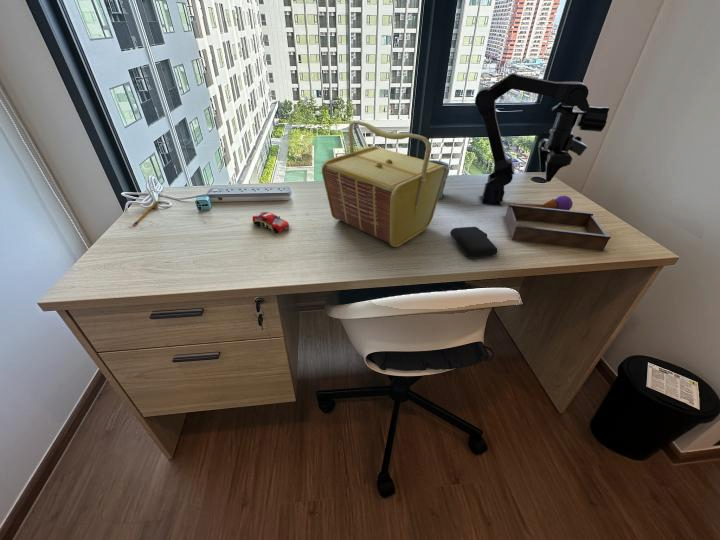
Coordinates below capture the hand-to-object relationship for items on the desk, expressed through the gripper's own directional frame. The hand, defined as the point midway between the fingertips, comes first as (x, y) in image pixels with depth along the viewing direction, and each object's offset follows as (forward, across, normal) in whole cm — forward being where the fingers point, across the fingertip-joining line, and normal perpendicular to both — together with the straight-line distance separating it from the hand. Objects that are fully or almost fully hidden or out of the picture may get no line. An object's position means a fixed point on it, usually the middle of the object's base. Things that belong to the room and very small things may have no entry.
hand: (544, 176), depth 113 cm
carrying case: (+12, -32, +22) cm, 41 cm away
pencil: (+13, -40, +129) cm, 136 cm away
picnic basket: (+12, -27, +51) cm, 59 cm away
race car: (+12, -38, +85) cm, 94 cm away
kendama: (+12, -3, -2) cm, 12 cm away
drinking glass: (+12, +1, +37) cm, 39 cm away
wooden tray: (+12, -18, -2) cm, 21 cm away
